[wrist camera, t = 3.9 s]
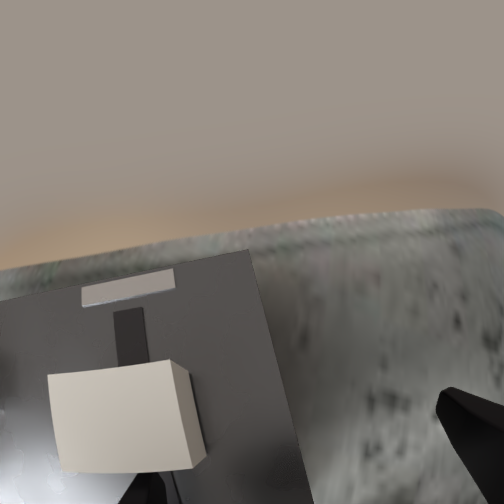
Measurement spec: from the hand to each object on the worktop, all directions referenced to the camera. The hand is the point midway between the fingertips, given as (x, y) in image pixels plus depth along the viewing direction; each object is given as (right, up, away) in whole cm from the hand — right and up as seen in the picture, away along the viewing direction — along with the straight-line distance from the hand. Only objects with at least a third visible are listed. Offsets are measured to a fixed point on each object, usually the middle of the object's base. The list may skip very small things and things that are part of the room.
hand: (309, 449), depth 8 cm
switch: (-5, 0, +2) cm, 6 cm away
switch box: (-9, -5, +7) cm, 13 cm away
